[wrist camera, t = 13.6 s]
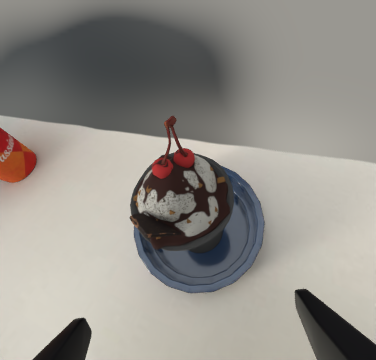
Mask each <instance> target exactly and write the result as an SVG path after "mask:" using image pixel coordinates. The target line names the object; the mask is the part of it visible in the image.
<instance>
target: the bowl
mask: <svg viewBox="0 0 376 360" xmlns="http://www.w3.org/2000/svg"><path fill="white" fill-rule="evenodd" d="M221 167H222V168H223V169H224V170H225V172H226V173H227V175H228V177H229V179H230V181H231V184H232V187H233V195H234V206H233V211H232V215H231V218H230V220H229V222H228V224H227V225H226V227H225V228H224V230H223V235H222V237H221V240H220V242H219V244H218V245H217V246H216V247H215V248H214V249H212V250H210V251H208V252H205V253H194V252H191V251H189V250H186V251H166V250H163V249H158V250H156V249H154V248H153V246H152V244H151V243H150V242H148V241H147V240H146V239H145V238H144V237H143V236H142V235H141V233H140V232H139V231H138V229H137V228H136V227H135V225H134V238H135V242H136V246H137V250H138V254H139V256H140V258H141V259H142V261H143V262H144V264H145V266H146V267H147V269H148V270H149V272H150V273H151V274H152V275H154V276H155V277H156V278H157V279H159V280H160V281H161V282H163V283H164V284H165V285H167V286H168V287H171V288H174V289H178V290H181V291H184V292H187V293H204V292H214V291H216V290H219V289H221V288H223V287H226V286H228V285H230V284H232V283H234V282H236V281H237V280H238V279H239V278H240V277H241V276H242V275H243V274H244V273H245V272H246V271H247V270H248V269H249V268H250V267H251V266H252V265H253V263H254V261H255V259H256V257H257V254H258V252H259V250H260V248H261V246H262V242H263V233H264V223H265V222H264V218H263V213H262V208H261V204H260V201H259V200H258V198H257V196H256V195H255V193H254V191H253V190H252V188H251V186H250V185H249V184H248V183H247V182H246V181H245V180H244V179H242V178H241V177H240V176H239V175H238V174H237V173H235V172H234V171H232V170H229V169H227V168H225V167H223V166H221Z"/></svg>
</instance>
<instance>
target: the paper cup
mask: <svg viewBox="0 0 376 360" xmlns="http://www.w3.org/2000/svg"><path fill="white" fill-rule="evenodd" d="M35 165H36V155H35V154H34V153H33V152H32V151H31V150H30V149H28V148H27V147H26V146H24V145H23V144H22V143H20V142H19V141H18V140H16V139H15V138H14V137H12V136H11V135H10V134H8V133H7V132H5V131H4V130H3V129H1V128H0V179H1V180H4V181H7V182H12V183H13V182H18V181H20V180H22V179H24V178H25V177H27V176H28V175H29V174H30V173H31V172H32V170H33V169H34V167H35Z"/></svg>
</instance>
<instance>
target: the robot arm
mask: <svg viewBox="0 0 376 360" xmlns="http://www.w3.org/2000/svg"><path fill="white" fill-rule="evenodd" d="M295 304H296V309H297V312H298V314H299V317H300V319H301V322H302V324H303V327H304V329H305V332H306V334H307V337H308V339H309V342H310V344H311V346H312V349H313V351H314V354H315V356H316V358H317V360H376V344H374V343H373V342H372V341H371V340H369V339H368V338H367V337H366V336H364V335H363V334H362V333H361V332H359V331H358V330H357V329H356V328H354V327H353V326H352V325H351V324H349V323H348V322H347V321H346V320H344V319H343V318H342V317H341V316H339V315H338V314H337V313H336V312H334V311H333V310H332V309H331V308H329V307H328V306H327V305H326V304H324V303H323V302H322V301H321V300H319V299H318V298H317V297H316V296H314V295H313V294H312V293H311V292H309V291H308V290H307V289H298V290H295ZM91 334H92V333H91V329H90V327H89V325H88V323H87V321H86V319H85V318H77V319H74V320H73V321H72V322H71V323H70V324H69V325H68V326H67V327H66V328H65V329H64V330H63V331H62V332H61V333H59V334H58V335H57V336H56V337H55V338H54V339H53V340H52V341H51V342H50V343H49V344H48V345H47V346H46V347H45V348H44V349H43V350H42V351H41V352H40V353H39V354H38V355H37V356H36V357H35V358H34V359H33V360H85V358H86V354H87V350H88V347H89V343H90V339H91Z"/></svg>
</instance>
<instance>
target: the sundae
mask: <svg viewBox="0 0 376 360" xmlns="http://www.w3.org/2000/svg"><path fill="white" fill-rule="evenodd" d="M175 122H176V118H175V117H174V116H171V117H170V118H169V119H168V120H167V121H165V122H164V125H165V127H166V130H167V134H168V139H169V144H168V148H167V152H166V154H165V155H162V156H161V157H160V158H159V159H157V160H155V161H154V163H153V164H151V165H150V166H149V167H148V168H147V170H146V171H145V172H144V174H143V175H142V177H141V178H140V180H139V181H138V183H137V185H136V187H135V189H134V191H133V194H132V198H131V204H130V207H131V215H132V216H130V219H131V221H132V223H133V224H134V225H135V227H136V228H137V229H138V231H139V232H140V233H141V235H142V236H143V237H144V238H145V239H146V240H147V241H148V242H150V243H151V244H152V246H153V248H154V249H156V250H158V249H163V250H166V251H186V250H189V251H191V252H194V253H205V252H208V251H210V250H212V249H214V248H215V247H216V246H217V245H218V244H219V242H220V240H221V237H222V235H223V230H224V228H225V227H226V225H227V224H228V222H229V220H230V218H231V215H232V211H233V206H234V195H233V187H232V184H231V181H230V179H229V177H228V175H227V173H226V172H225V170H224V169H223V168H222V167H221V166H220V165H219V164H218V163H217V162H215V161H214V160H212V159H210V158H207V157H205V156H202V155H199V154H195V153H193V152H192V151H191V150H189V149H186V148H183V149H182V147H181V145H180V143H179V141H178V138H177V136H176V134H175V131H174V128H173V125H174V124H175ZM169 127H170V128H171V130H172V133H173V135H174V138H175V141H176V144H177V146H178V148H179V150H177V151H176V152H175V153H172V154H169V150H170V146H171V138H170V131H169Z"/></svg>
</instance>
